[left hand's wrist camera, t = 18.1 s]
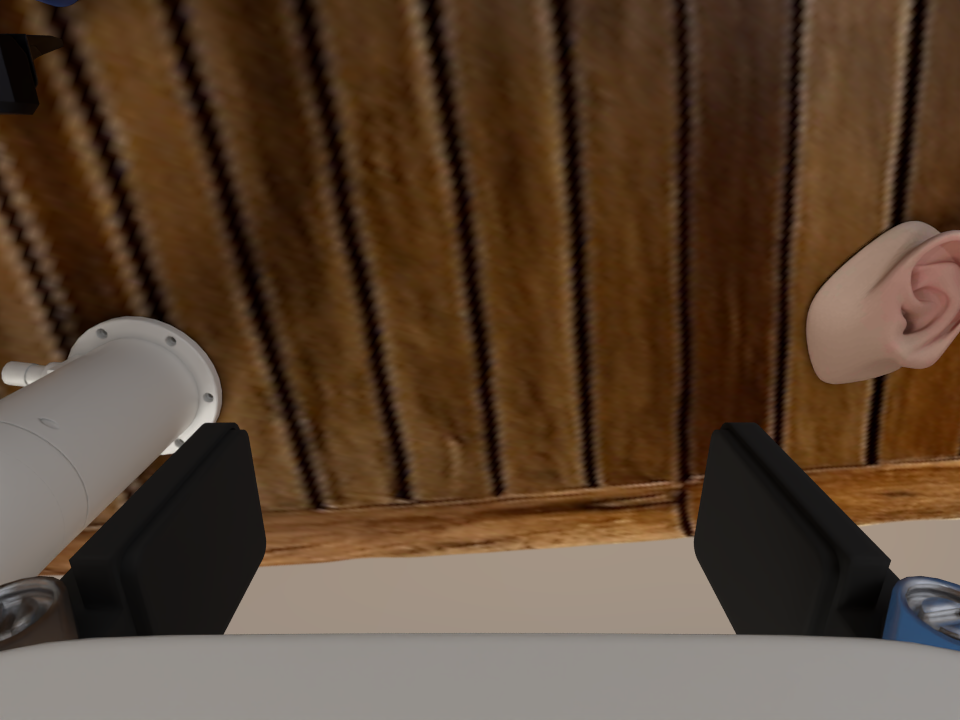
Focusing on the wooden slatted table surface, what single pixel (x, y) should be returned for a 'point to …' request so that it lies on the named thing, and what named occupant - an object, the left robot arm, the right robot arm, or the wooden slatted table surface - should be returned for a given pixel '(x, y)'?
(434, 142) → the wooden slatted table surface
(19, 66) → the right robot arm
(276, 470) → the wooden slatted table surface
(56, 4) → the canister
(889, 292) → the anatomical model
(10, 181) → the wooden slatted table surface
